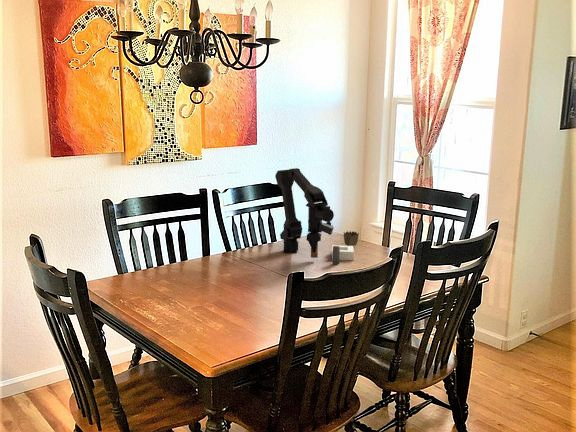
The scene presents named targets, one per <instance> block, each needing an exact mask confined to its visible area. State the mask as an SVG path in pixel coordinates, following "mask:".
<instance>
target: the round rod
mask: <svg viewBox="0 0 576 432" xmlns="http://www.w3.org/2000/svg"><path fill="white" fill-rule="evenodd" d="M340 246H341V245H337V246H333V260H332V265H334V266H337V265H338V264H339V265H340V260H339V257H340ZM339 265H338V266H339Z"/></svg>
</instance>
